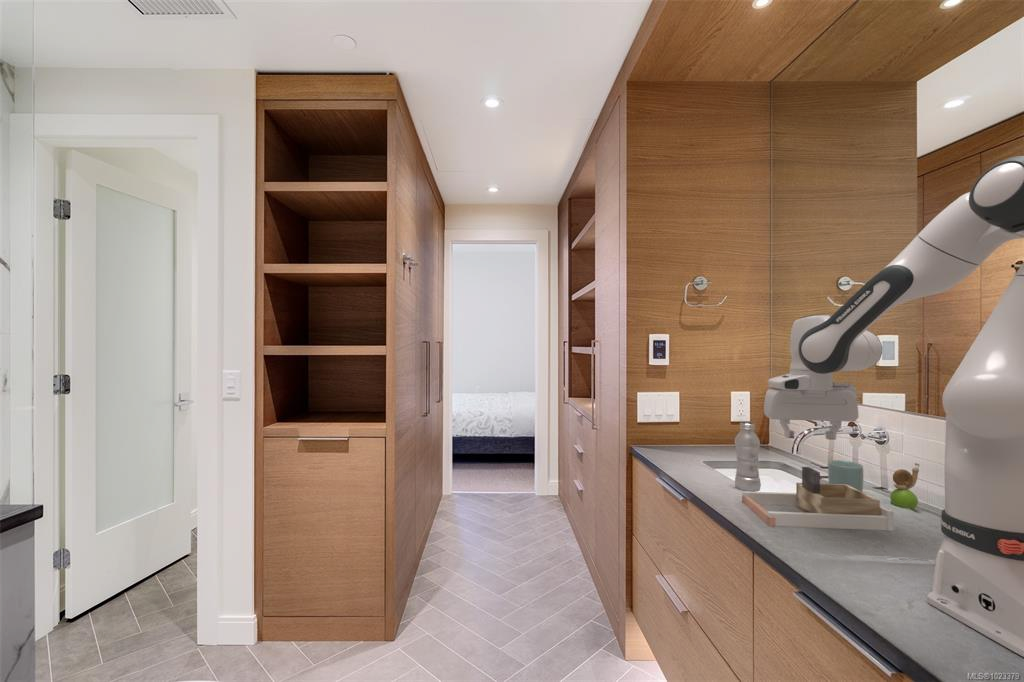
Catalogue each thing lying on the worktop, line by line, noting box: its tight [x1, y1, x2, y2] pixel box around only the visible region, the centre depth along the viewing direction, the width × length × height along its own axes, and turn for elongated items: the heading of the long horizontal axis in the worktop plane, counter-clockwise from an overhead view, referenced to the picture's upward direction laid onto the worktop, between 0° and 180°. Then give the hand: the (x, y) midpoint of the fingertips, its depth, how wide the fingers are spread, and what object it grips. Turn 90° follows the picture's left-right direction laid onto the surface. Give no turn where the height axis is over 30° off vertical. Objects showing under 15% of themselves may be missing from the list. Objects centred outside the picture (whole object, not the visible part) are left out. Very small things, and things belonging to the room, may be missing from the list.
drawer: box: [795, 466, 881, 516], centre depth 110 cm, size 12×12×11 cm
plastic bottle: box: [733, 421, 762, 492], centre depth 131 cm, size 6×7×20 cm
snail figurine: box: [889, 462, 920, 511], centre depth 117 cm, size 5×6×12 cm
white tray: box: [741, 490, 894, 532], centre depth 110 cm, size 16×26×6 cm, turn 84°
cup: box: [827, 459, 864, 493], centre depth 124 cm, size 8×8×10 cm
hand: (809, 438), depth 111 cm, fingers open, 8 cm apart
